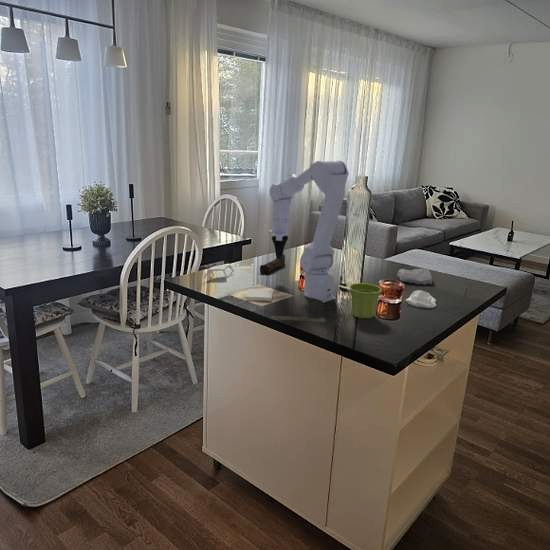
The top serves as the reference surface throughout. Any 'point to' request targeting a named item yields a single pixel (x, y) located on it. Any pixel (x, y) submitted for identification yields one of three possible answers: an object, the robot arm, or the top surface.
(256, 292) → the tile
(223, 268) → the origami figure
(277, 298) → the board
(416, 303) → the white rock
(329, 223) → the robot arm
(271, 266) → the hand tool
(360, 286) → the plant pot
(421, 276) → the stone block
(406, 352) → the top surface
